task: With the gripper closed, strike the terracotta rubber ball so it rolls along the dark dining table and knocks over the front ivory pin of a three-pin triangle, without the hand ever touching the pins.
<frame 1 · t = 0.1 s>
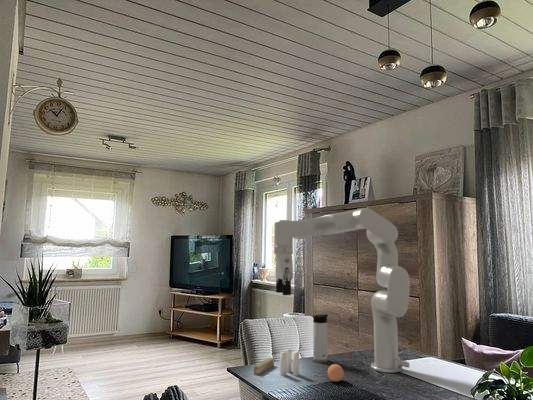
hand: (283, 293, 158), 31 cm above the table, tool pointing down, fingers open, 9 cm apart
left pin: (283, 374, 155), on the table
right pin: (288, 371, 159), on the table
travel mug: (320, 361, 175), on the table
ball: (335, 372, 148), on the table
wooden bar: (264, 369, 161), on the table
front pin: (296, 374, 155), on the table
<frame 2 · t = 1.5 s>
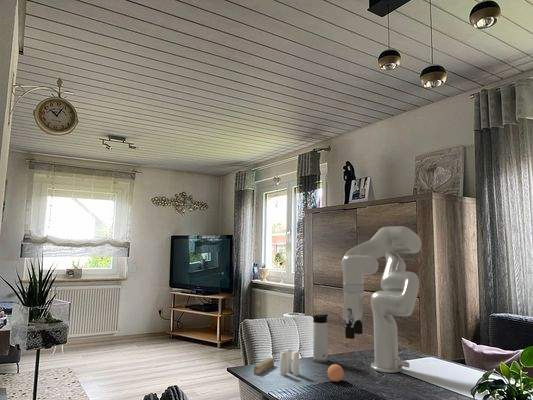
hand: (354, 336, 147), 17 cm above the table, tool pointing down, fingers open, 9 cm apart
nothing on the table moved.
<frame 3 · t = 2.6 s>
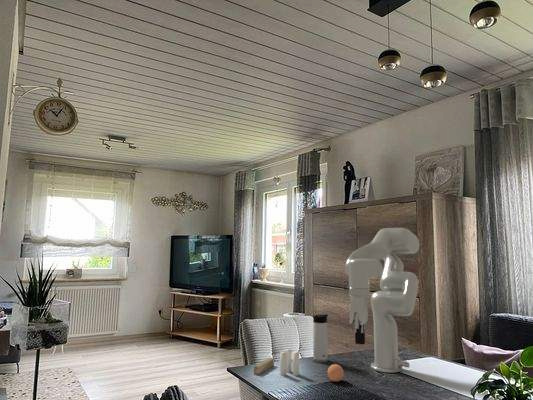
hand: (360, 343, 145), 15 cm above the table, tool pointing down, fingers closed
nothing on the table moved.
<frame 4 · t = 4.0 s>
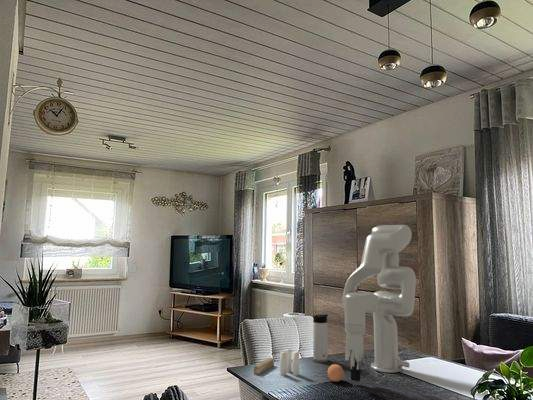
hand: (355, 380, 145), 2 cm above the table, tool pointing down, fingers closed
nothing on the table moved.
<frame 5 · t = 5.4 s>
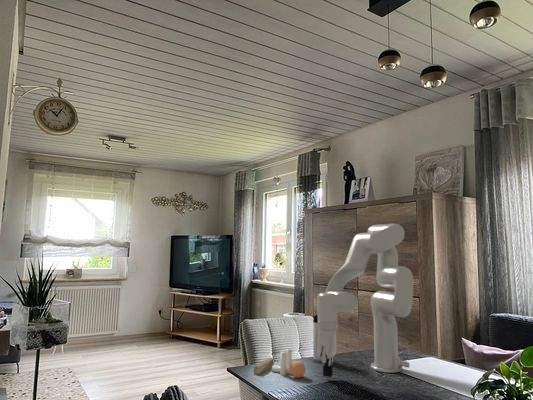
hand: (327, 375, 149), 2 cm above the table, tool pointing down, fingers closed
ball: (297, 369, 152), on the table
front pin: (292, 371, 156), point 1 cm above the table, tilted 90°
everything else where it was.
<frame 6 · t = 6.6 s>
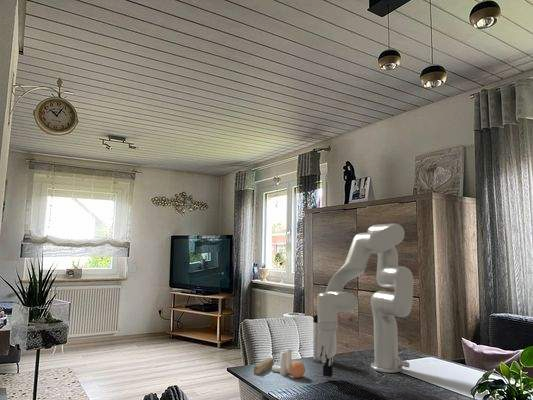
hand: (327, 375, 149), 2 cm above the table, tool pointing down, fingers closed
nothing on the table moved.
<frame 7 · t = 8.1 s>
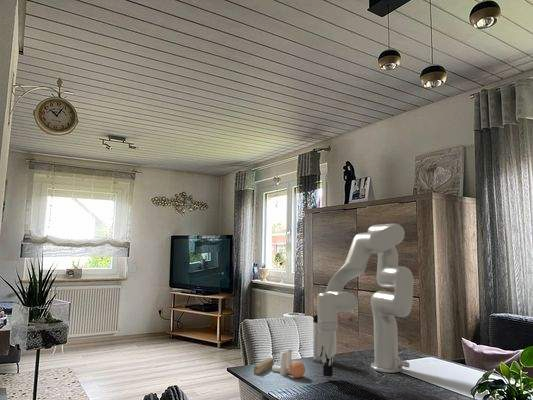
hand: (328, 375, 149), 2 cm above the table, tool pointing down, fingers closed
nothing on the table moved.
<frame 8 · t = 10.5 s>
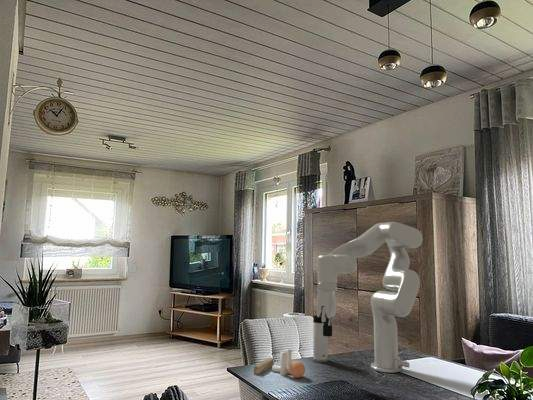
hand: (327, 335, 151), 16 cm above the table, tool pointing down, fingers closed
nothing on the table moved.
at the end: front pin tilted 90°; front pin never touched the robot; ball moved 14.5 cm from its start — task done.
